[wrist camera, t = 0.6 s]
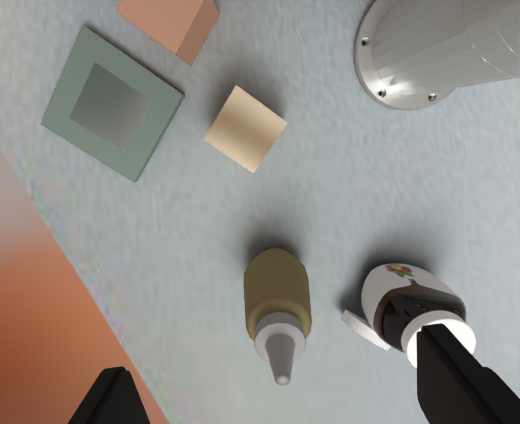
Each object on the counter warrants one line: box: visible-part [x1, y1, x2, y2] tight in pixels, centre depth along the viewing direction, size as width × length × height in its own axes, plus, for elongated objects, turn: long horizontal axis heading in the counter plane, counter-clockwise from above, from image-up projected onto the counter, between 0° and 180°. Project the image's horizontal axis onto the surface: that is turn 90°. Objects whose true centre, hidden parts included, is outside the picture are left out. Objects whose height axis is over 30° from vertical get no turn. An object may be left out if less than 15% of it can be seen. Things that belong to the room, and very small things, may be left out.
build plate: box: [41, 25, 185, 182], centre depth 33 cm, size 12×12×1 cm
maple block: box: [204, 85, 287, 173], centre depth 31 cm, size 6×6×6 cm
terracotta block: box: [116, 0, 219, 66], centre depth 28 cm, size 6×6×6 cm
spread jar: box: [341, 262, 476, 368], centre depth 35 cm, size 12×11×12 cm
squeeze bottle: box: [244, 248, 312, 385], centre depth 31 cm, size 8×8×18 cm
